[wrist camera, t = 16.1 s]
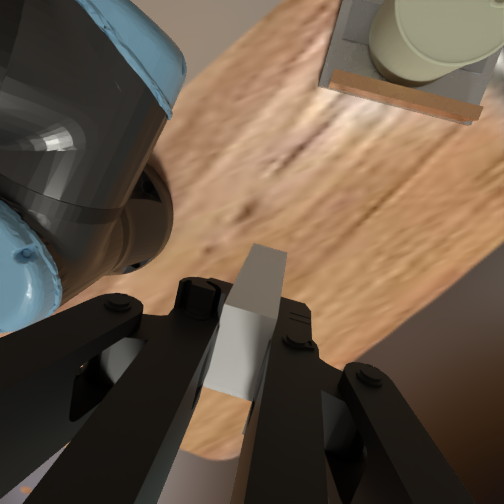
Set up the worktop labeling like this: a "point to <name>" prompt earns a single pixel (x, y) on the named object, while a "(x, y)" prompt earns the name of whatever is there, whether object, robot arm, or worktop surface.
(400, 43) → the can
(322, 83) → the rail holder
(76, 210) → the robot arm
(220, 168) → the worktop surface
